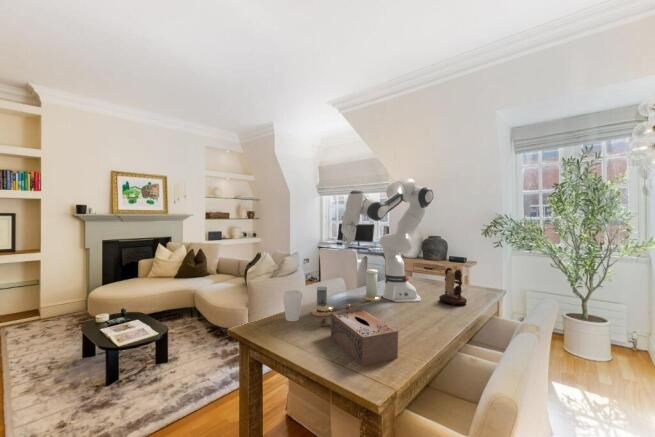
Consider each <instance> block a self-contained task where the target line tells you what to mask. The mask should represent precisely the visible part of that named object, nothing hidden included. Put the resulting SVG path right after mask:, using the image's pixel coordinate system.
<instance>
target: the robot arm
mask: <svg viewBox="0 0 655 437" xmlns="http://www.w3.org/2000/svg"><path fill="white" fill-rule="evenodd" d="M385 193H386V198H387V199H385V200H384V201H376V200H373V199H370V198H368V196H366V194H365V193H364V191H361V190H352V191H350V192H349V194H348V196H347V199H346V202H345V203H346V204H345V210H344V212H343V215H342V218H341V219H342V220H341V221H342V222H341V228H340V231H341V233H342V242H343V243H345V245H344V246H345V248H349V247H350V245H351V243H352V242H354V241H355V239H356V235H357V234H356V233H357V226H358V225H359V222H360V218H361V216H364V217H366V218H369V219H371V220H373V221H375V222H378V221H381V220H382V219H383V218H384V217H386V216H387V214H388V213H389V212H390V211H392V210H394V209H395V208H396V207H397V206H399V205H400V204H402V202H404V203H409V207H408V208H407V209H406V211H404V214H402V217H400V220H399V221H398V223H397V227H398V228H397V231H396V232H395V233H386V234H384V235H382V236H381V237H380V239H379V245H380V247H381V249H382V250H383V255H384V258H385V274H384V289H383V290H384V291H383V294H382V297H383V298H384V299H386V300H389V301H392V302H395V303H396V302H397V303H401V302H402V303H403V302H405V303H406V302H409V303H411V302H421V301H422V298H421V296H420V295H419V294H418V292H417V289H416V287H415V286H414V285H412V284H411V283H410V282H409V280H410V277H408V276H407V275H405V261H404V259H403V258H402V254H407V253H409V252H411V250H412V249H413V241H412V239H413V235H414V232H416V230H417V229H418V227H419V225H420V223H421V221H423V218H424V216H425V213H426V208H427V207H428V206H429V205H430V204H431V203H432V201H433V199H434V191H433V190H432V188H428V187H425V186H419V185H416V182H415V180H414V179H413V178H410V177H405V178H401V179H399V180H396V181H393V182H392V183H391V184H388V186H387V188H386V192H385Z"/></svg>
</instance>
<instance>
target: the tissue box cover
mask: <svg viewBox="0 0 655 437" xmlns="http://www.w3.org/2000/svg"><path fill="white" fill-rule="evenodd" d="M330 316H331V317H330V319H331V327H330V337H332V338H333V340H334V341H335V342H337V343H338V344H339V345H340V347H342V349H344V350H345V351H346V352H347V353H348V354H349V355H350V356H351V357H352V358H353V359H354V360H356V361H357V363H358V364H360V366H362V367H365V366H370V365H374V364H379V363H383V362H386V361H387V362H388V361H391V360H394V359H398V357H399V353H398V351H399V331H398V329H395V328H394V327H393V326H390V324H388V323H386V322H384V321H382V320H380V319H379V318H377V317H376V316H374V315H372V314H371V313H369V312H367V311H366V310H364V309H363V308H355V309H350V310H348V311H346V310H340V311H333V312H331V315H330Z"/></svg>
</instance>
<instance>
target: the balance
mask: <svg viewBox="0 0 655 437" xmlns="http://www.w3.org/2000/svg"><path fill="white" fill-rule="evenodd" d="M362 299H363V300H364V301H361V302H355V303H351V304H350V303H346V304H345V305H342V306H337V307H335V306H334V305H332V304H320V305H318V306H317V305H316V308H317V310H319V311H324V312H325V313H328V312H331V313H334V312H339V311H343V310H345V311H348V310H351V308H355V307H361V306H366V305H370V304H372V303H373V302H377V301H380V300H381V295H378V294H377V298H368V297H366V294H363V295H362ZM320 324H321V325H320V327H329V328H331V318H323V319H322V320H321V323H320Z"/></svg>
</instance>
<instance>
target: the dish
mask: <svg viewBox="0 0 655 437" xmlns="http://www.w3.org/2000/svg"><path fill="white" fill-rule="evenodd" d="M331 313H332V312H328V313H325V312H324V313H320V312H317V307H315V308H313V309H312V310H311V314H312V315H313V316H315V317H321V318H322V317H328V316H331Z"/></svg>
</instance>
